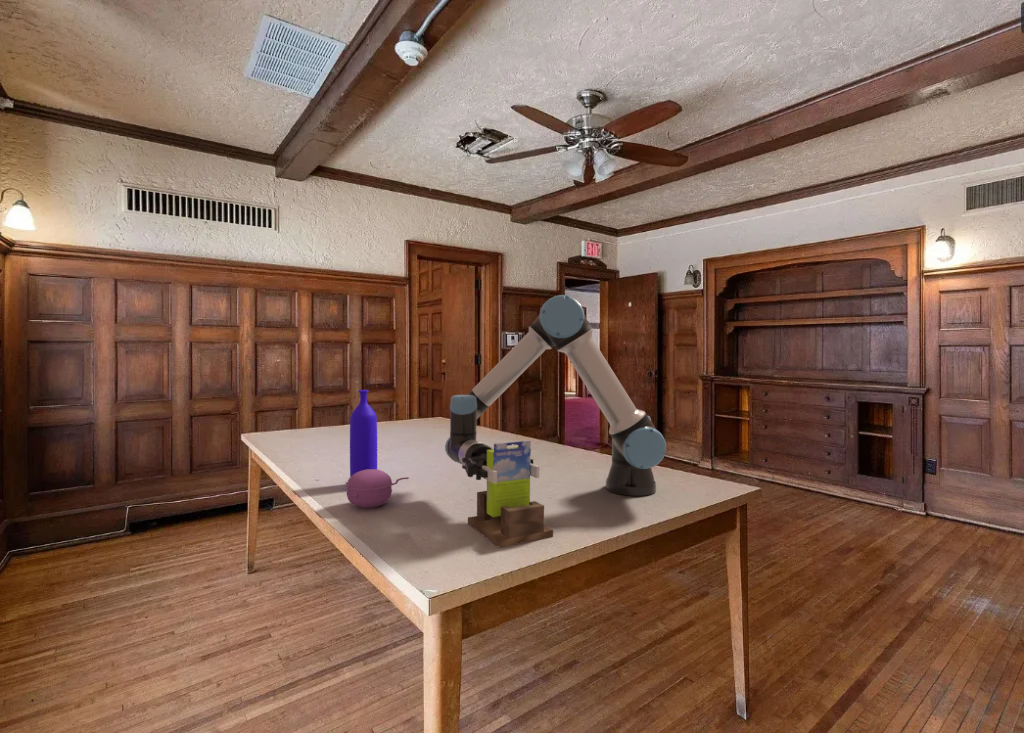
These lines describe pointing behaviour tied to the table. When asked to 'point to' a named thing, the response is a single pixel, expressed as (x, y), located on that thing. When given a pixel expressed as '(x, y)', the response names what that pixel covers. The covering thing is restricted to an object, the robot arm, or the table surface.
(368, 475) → the pink toy mouse
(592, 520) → the table surface
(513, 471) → the box
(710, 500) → the table surface
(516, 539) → the slot stand
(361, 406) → the bottle
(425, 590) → the table surface
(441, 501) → the table surface
